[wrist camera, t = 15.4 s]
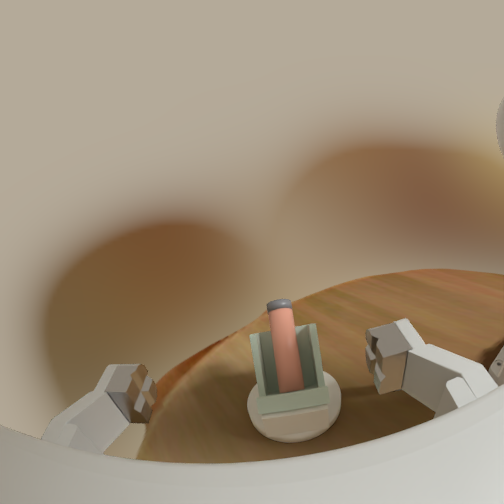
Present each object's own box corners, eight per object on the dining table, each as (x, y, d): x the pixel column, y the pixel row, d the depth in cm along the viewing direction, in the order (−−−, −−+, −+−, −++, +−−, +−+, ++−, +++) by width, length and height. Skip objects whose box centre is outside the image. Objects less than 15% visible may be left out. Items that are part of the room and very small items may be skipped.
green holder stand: (250, 381, 44) (232, 319, 39) (331, 368, 43) (327, 302, 38) (249, 448, 32) (224, 388, 27) (349, 432, 31) (353, 367, 26)
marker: (294, 390, 36) (282, 307, 41) (310, 388, 33) (295, 299, 39) (274, 394, 34) (262, 306, 40) (289, 391, 32) (275, 298, 37)
